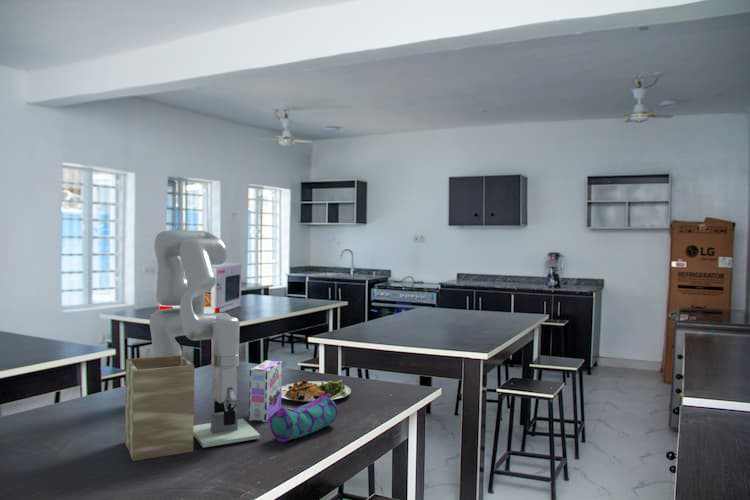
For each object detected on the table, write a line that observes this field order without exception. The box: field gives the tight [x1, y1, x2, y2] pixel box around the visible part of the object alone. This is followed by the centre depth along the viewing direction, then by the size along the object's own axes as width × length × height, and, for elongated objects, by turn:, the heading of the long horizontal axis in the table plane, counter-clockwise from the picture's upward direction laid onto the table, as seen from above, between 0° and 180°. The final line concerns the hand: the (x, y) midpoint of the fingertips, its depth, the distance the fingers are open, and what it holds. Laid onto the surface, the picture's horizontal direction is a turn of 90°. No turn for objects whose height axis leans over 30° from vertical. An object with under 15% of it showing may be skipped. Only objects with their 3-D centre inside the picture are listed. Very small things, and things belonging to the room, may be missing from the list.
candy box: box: [248, 359, 283, 423], centre depth 188 cm, size 14×6×16 cm, turn 168°
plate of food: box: [281, 379, 352, 403], centre depth 213 cm, size 28×28×6 cm
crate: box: [124, 354, 195, 462], centre depth 159 cm, size 15×15×23 cm
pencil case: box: [269, 394, 338, 443], centre depth 173 cm, size 21×9×10 cm, turn 144°
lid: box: [193, 411, 261, 448], centre depth 169 cm, size 16×16×7 cm
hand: (224, 419), depth 168 cm, fingers open, 9 cm apart
